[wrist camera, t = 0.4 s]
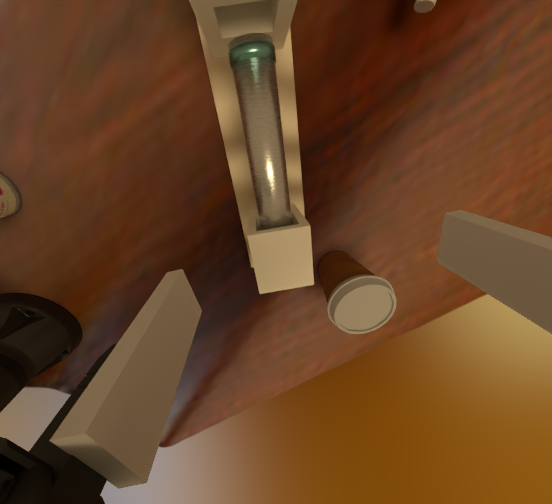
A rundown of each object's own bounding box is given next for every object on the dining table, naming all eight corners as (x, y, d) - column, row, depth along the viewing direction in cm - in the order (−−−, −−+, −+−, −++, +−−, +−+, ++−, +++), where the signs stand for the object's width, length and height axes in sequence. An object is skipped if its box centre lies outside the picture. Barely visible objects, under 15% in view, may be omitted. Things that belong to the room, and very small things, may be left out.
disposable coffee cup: (298, 270, 39) (316, 317, 28) (336, 232, 36) (371, 268, 25) (333, 295, 42) (360, 345, 31) (369, 261, 39) (413, 304, 29)
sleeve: (297, 247, 36) (314, 284, 27) (257, 254, 36) (259, 294, 26) (293, 202, 33) (310, 225, 23) (249, 209, 33) (247, 235, 23)
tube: (295, 261, 31) (300, 277, 28) (267, 266, 31) (269, 282, 28) (271, 50, 21) (276, 28, 17) (229, 56, 20) (223, 36, 17)
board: (307, 256, 37) (307, 258, 37) (251, 265, 37) (251, 267, 37) (281, -71, 21) (282, -77, 20) (180, -58, 20) (178, -64, 20)
